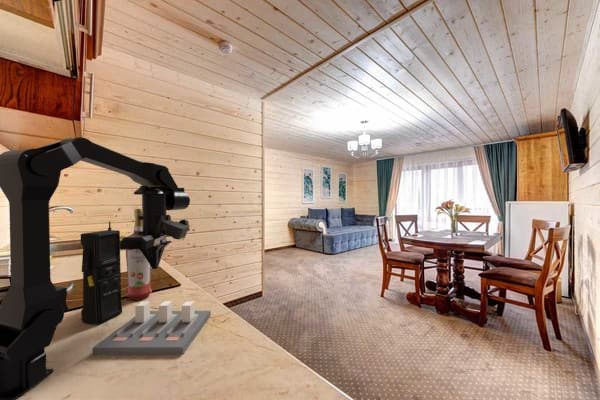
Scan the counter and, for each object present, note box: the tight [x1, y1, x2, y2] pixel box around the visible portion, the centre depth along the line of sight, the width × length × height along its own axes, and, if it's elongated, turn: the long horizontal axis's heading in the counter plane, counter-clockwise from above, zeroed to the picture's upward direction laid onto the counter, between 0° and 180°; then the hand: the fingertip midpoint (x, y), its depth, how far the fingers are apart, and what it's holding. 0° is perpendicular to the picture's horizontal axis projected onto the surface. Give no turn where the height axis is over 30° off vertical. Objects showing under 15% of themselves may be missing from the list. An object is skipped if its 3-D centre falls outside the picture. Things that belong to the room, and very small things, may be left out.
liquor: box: [125, 208, 153, 301], centre depth 78 cm, size 7×7×28 cm
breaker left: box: [134, 301, 151, 323], centre depth 60 cm, size 2×2×4 cm
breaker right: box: [181, 300, 195, 322], centre depth 60 cm, size 2×2×4 cm
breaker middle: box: [158, 300, 173, 322], centre depth 60 cm, size 2×2×4 cm
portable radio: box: [80, 220, 123, 325], centre depth 64 cm, size 8×6×25 cm
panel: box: [91, 310, 212, 356], centre depth 57 cm, size 18×16×2 cm
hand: (155, 268), depth 67 cm, fingers closed
